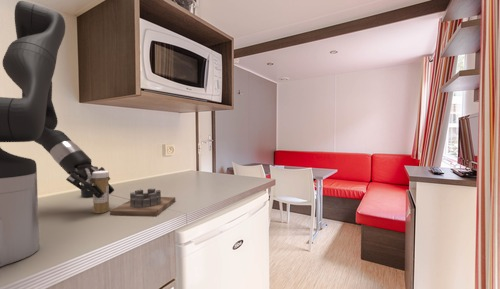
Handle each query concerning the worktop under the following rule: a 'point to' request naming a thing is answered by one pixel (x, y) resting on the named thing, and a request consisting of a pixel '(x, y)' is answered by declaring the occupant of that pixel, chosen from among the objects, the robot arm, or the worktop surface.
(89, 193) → the supplement bottle
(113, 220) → the worktop surface
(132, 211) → the collar base
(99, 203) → the sprinkles bottle
